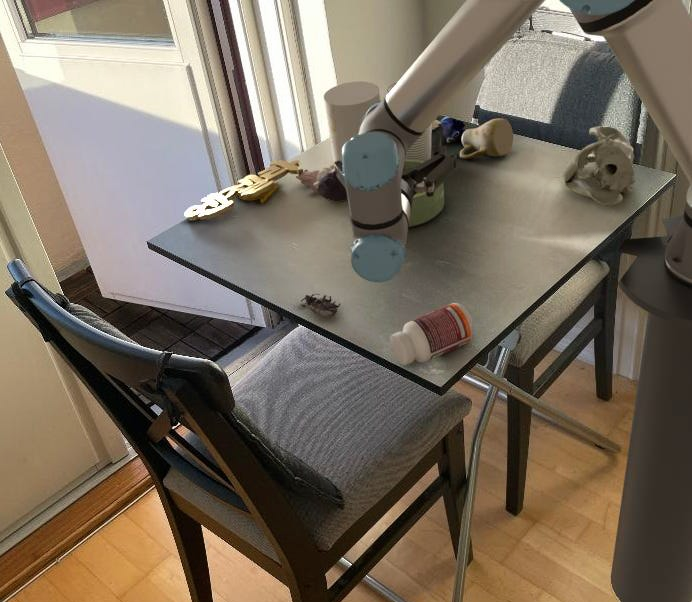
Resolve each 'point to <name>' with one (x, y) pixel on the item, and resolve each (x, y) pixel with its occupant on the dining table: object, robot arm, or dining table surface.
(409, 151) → the cup
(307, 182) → the figurine
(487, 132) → the mug
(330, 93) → the white cylinder
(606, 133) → the animal skull
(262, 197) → the logo
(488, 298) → the dining table surface
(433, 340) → the pill bottle
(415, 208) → the bowl
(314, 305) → the beetle
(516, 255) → the dining table surface
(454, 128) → the spaceship
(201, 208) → the lettering
